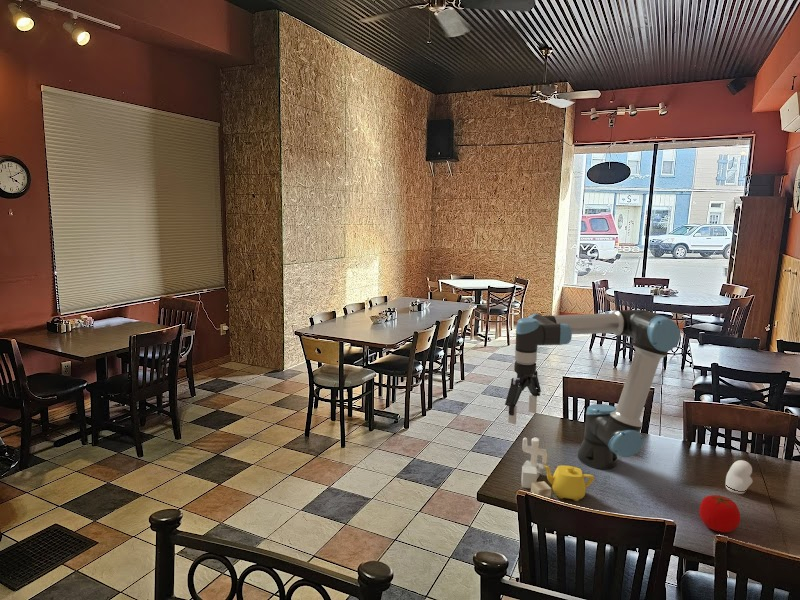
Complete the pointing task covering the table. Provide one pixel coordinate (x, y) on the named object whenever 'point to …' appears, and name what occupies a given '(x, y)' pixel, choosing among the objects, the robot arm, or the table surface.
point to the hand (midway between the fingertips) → (522, 417)
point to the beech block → (541, 489)
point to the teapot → (569, 482)
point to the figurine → (535, 454)
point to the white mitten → (739, 476)
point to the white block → (528, 476)
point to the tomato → (719, 513)
